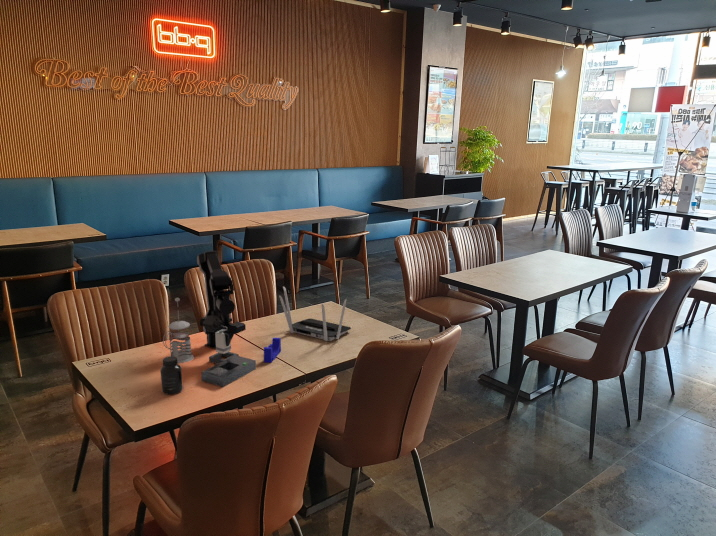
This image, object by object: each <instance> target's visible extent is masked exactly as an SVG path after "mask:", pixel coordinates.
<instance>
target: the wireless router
mask: <svg viewBox="0 0 716 536" xmlns="http://www.w3.org/2000/svg"><path fill="white" fill-rule="evenodd" d="M282 289H283V294H284V298H283V297H282V296H281V295H280V294H279V295H278V296H279V297H278V298H279V299H280V303H281V307H282V310H283V312H284V317H285V318H286V322H287V325H288V329H289V332H290V333H291V334H292V333H293V334H299V335H304V336H308V337H312V338H315V339H320V340H324V341H325V342H328V341H329V342H331V341H334V340H339V339H340V337H341V336H343V335H344V334H346V333H348V331H350V330H351V329H352V327H351V326H348V325H343V320H344V315H345V310H346V305H347V299H348V298H345V299H344V300H343V305H342V310H341V313H340V319H339V324H338V323H334V322H333V323H332V322H328V321H327V319H326V318H327V317H326V309H325V305H324V303H321V314H322V320H320V319H315V318H306V319H302V320H299V321H297V322H294V323H293V319H292V313H291V309H290V304H289V303H290V302H289V299H288V294H287V288H286V287H285V286H282Z"/></svg>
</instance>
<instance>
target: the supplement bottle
mask: <svg viewBox="0 0 716 536" xmlns="http://www.w3.org/2000/svg"><path fill="white" fill-rule="evenodd" d="M159 371H160V381H161V391H162V393H163V394H164V395H167V396H168V395H169V396H172V395H177V394H179V393H180V392H182V391H183V389H184V388H183V375H182V374H183V373H182V366H181V364H180V363H178V361H177V357H175V356H171V355H169V356H166V357H163V358H162V366H161V368H160V370H159Z"/></svg>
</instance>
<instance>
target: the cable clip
mask: <svg viewBox="0 0 716 536" xmlns="http://www.w3.org/2000/svg"><path fill="white" fill-rule="evenodd" d="M281 341H282V339H281V337H272V341H271V343H270V344H269V345H268V346H264V347H263V362H264V363H267V364H271V363H273V361H274V360H275V359H276V358H277V356H278V355H279V354H280V353H281V352H282V344H281V343H282V342H281Z"/></svg>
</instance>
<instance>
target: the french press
mask: <svg viewBox="0 0 716 536" xmlns="http://www.w3.org/2000/svg"><path fill="white" fill-rule="evenodd" d="M174 301H175V302H176V303H177V304H176V305H177V306H179V302H180V301H181V299H180V298H179V297H175V298H174ZM179 314H180V313H179V311H177V318H178V320H177V321H176V320H175V321H173V322H171V323H170V324H168V326H167V327H168V328H169V330H167V331H166V332H165V333H164V335H163V338H162V344H163V346H164V347H165V348H166V349H168V350H169V352H170V353H169V354H170V356H175V357H177V361H178V364H184V363H189V362H190V361H193V360H194V359H195V355H193V354H192V345H191V344H192V343H191V337H190V333H189V332H185V331H182V332H181V331H180V330H184V329H188V328H190V325H191V324H190V323H189V322H188V321H185V320H180V315H179ZM170 330H172V331H173V330H175V331H176V330H177V331H178V332H174V333H173V332H172V331H170ZM169 335H170V338H169V347H168V345H167V337H168V336H169ZM165 336H166V337H165Z"/></svg>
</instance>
